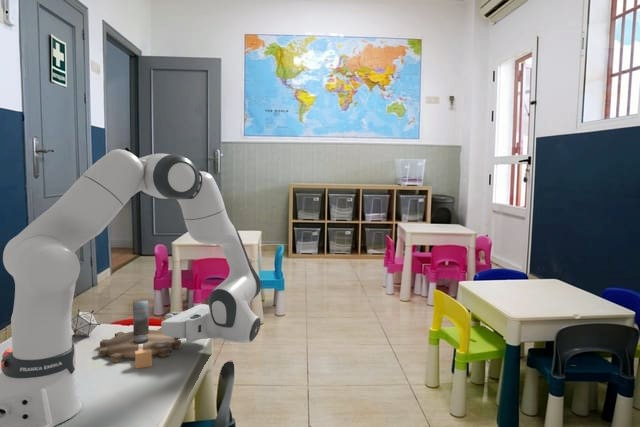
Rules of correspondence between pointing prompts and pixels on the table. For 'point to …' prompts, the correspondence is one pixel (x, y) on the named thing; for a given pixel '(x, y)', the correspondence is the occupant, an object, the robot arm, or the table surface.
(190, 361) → the table surface
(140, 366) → the orange wooden block
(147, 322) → the sprocket
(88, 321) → the game die
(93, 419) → the table surface
